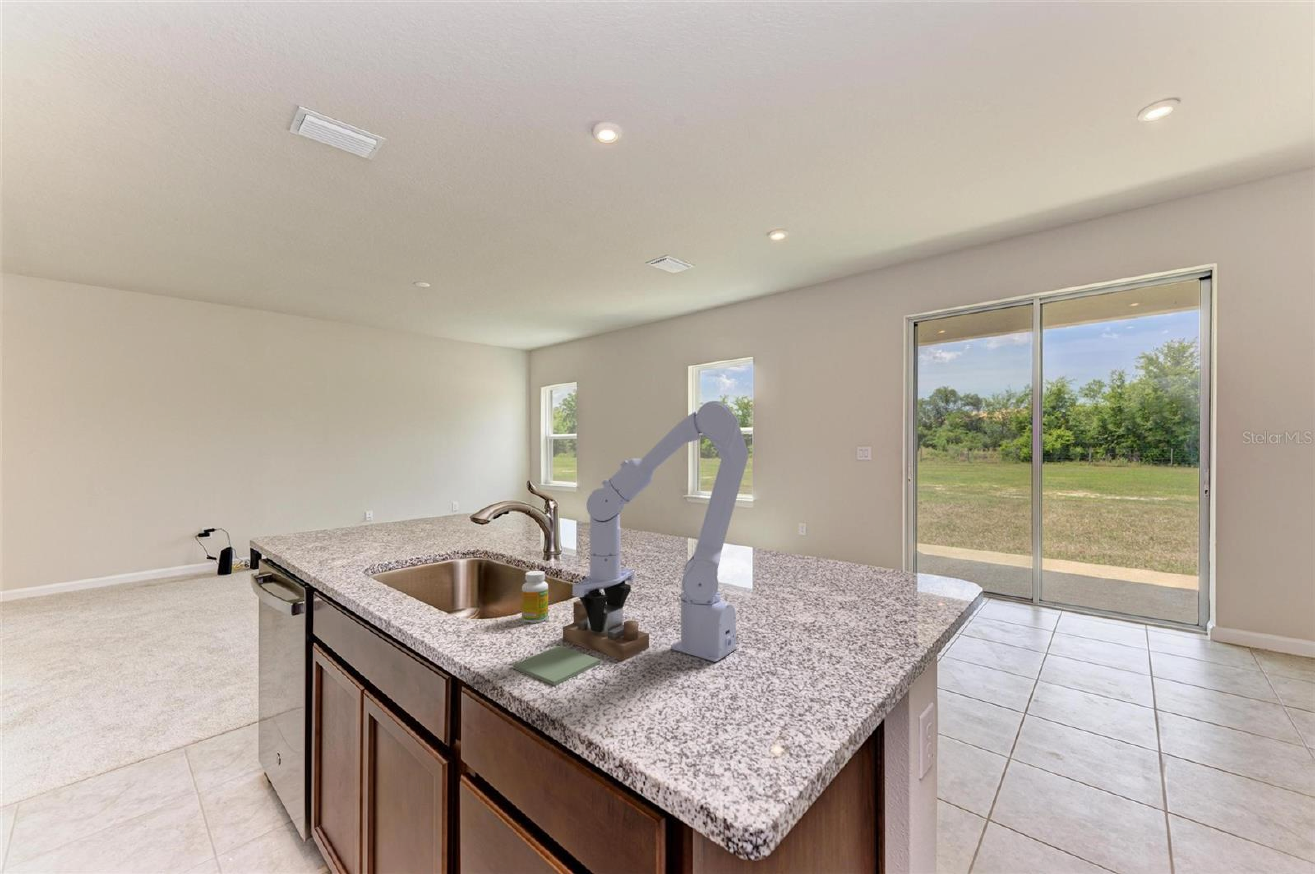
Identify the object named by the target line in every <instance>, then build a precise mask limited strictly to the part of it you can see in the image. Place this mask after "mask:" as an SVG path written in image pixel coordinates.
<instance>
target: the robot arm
mask: <svg viewBox="0 0 1315 874" xmlns="http://www.w3.org/2000/svg"><path fill="white" fill-rule="evenodd" d="M700 434H702V435H703V436H704V437H705V438H707V440H709V441H710V442H711V443H712V444H713V447H714V448H715V450H716V452H717V453H718V455H719V457H720V463H719V466H718V470H717V472H716V473H717V474H716V476H715V480H714V483H713V487H712V491H711V494H710V497H709V502H708V505H707V508H706V512H705V515H704V519H703V522H702V525H701V529H700V532H699V537H698V540H697V543H696V546H695V550H694V552H693V555H692V556H691V558H689V560H688V561H687V562H686V563H685V566H684V568H683V569H684V573H683V576H682V578H681V579H682V580H681V588H682V591H683V592H681V593H680V640H679V641H677V642H676V643H674V644H672V645H670V649H671V650H673V651H676V652H681V653H683V654H687V655H691V656H694V657H697V658H702V659H705V660H707V661H710V662H711V661H712V662H716V663H717V662H718V661H720V660H722V659H723V658H725V657H726V656H727V655H729V654H730V653H732V652H733V651H735V650H736V649H738V648H739V645H738V644H737V641H736V639H737V637H736V636H737V635H736V634H737V632H736V631H737V630H736V629H737V628H736V625H737V624H736V622H737V620H736V619H737V618H736V610H735V607H734V605H732V603H731V604H730V603H728V602H726V601H724V600H723V599H722V595H721V593H720V592H719V591H718V590H719V579H718V578H719V577H718V575H719V573H718V571H719V570H718V569H719V565H720V561H721V557H722V555H721V554H722V550H723V547H724V543H725V540H726V536H727V533H728V529H729V526H730V523H731V519H732V515H733V512H734V508H735V505H736V501H737V499H738V494H739V491H740V488H741V484H742V480H743V477H744V473H745V470H746V466H747V462H748V459H749V450H748V447H747V444H746V441H745V439H744V435H743V433H742V430H741V425H740V424H739V420H738V418H737V416H736V415H735V414H734V412H732V410H731V409H730V407H729V406H728V405H727V404H726V403H724V402H721V401H718V400H711V401H708V402H705V403H704V404H702V405H701V406H700V407H699V409H698V410H697V412H696V411H693V412H692V413H691V414H689V415H687V416H686V417H685V418H684V419H681V421H680V422H678V423H677V424H676V425H675V426H674V427H673V428H672V429H671V430H670V431H669V432H668V433H667V434H666V435H665V436H663V438H662V439H660V441H659V442H658V443H657V444H655V445H654V447H652V448H651V449H650V450H649V451H648V452H647V453H646V454H645V455H644V456H643V457H642V458H635V457H634V458H630V459H629V460H624V461H622V462H621V463H620V467H621V468H620V469H618V470H617V471H616V472H615V473H614V474H613V475H611V477H610V478H609V479H607V478H605V479H604V480H603V481H601V485H602V486H603V487H599V488H596V489H594V490H593V491H591V493H590V495H589V496H588V497H587V500H586V511H587V513H588V514H589V523H590V524H589V525H590V526H589V573H588V574H587V575H586V578H584V579H582V580H581V581H579V582H577V583H575V584H572V597H577V598H579V600H581V601H582V603H583V605H584V607H585V610H586V612H587V615H588V619H589V623H590V627H591V631H594V632H598V633H600V632H602V628H603V615H604V608H605V604H608V605H612V606H616V607H620V608H624V605H625V603H626V601H627V598H628V596H629V593H630V592H631V590H632V587H631V586H632V585H631V584H626V582H633V581H635V570H634V569H630V568H625V569H622V567H621V566H622V565H621V564H622V560H621V559H622V558H621V557H622V556H621V555H622V553H621V550H622V547H621V546H622V542H621V541H622V540H621V539H622V538H621V537H622V529H621V512H622V510H623V508H624V505H628V504H630V502H632V501H633V500H634V499H635V498H636V497H637V496H638V495H639V494H640V493H641V492H643V491H644V490H645V489H647V487H648V486H649V485H651V484H652V483H653V481H654V471H655V470H656V469H658V468H659V467H660V466H661V465H662V464H664V463H665V461H667V460H668V459H669V458H670V457H671V456H672V455H674V454H675V453H676V452H677V451H679V450H680V449H681V448H682V447H683V446H685V445H686V444H688V443H691V442H695V441H698V440H702V439H701V435H700ZM601 590H603V592H604V594H603V593H602V591H601Z"/></svg>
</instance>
